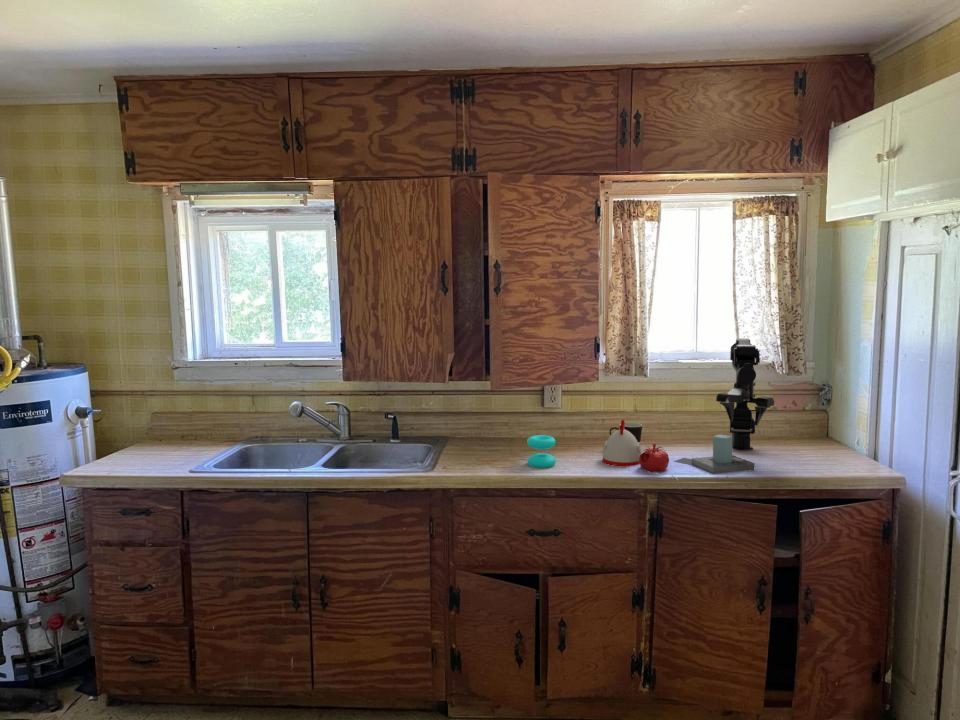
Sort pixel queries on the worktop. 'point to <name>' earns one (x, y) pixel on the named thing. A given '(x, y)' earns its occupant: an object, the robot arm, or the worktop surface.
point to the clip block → (722, 449)
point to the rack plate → (722, 465)
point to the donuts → (541, 459)
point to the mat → (684, 461)
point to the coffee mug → (632, 430)
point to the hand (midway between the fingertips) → (743, 423)
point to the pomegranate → (654, 459)
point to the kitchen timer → (622, 448)
